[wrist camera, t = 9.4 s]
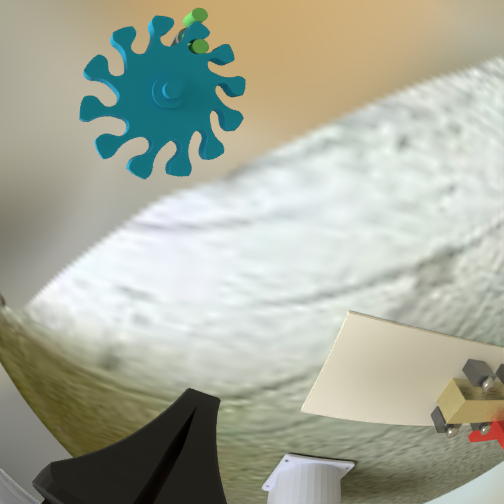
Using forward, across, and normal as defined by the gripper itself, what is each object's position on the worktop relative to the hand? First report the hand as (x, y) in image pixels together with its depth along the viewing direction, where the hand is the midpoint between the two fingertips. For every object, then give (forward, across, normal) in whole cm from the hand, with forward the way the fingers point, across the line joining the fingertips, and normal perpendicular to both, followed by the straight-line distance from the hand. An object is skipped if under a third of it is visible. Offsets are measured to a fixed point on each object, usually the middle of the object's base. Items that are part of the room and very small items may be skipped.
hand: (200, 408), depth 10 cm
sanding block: (+10, -24, +3) cm, 26 cm away
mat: (+10, -18, +3) cm, 21 cm away
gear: (+10, +7, -13) cm, 18 cm away
